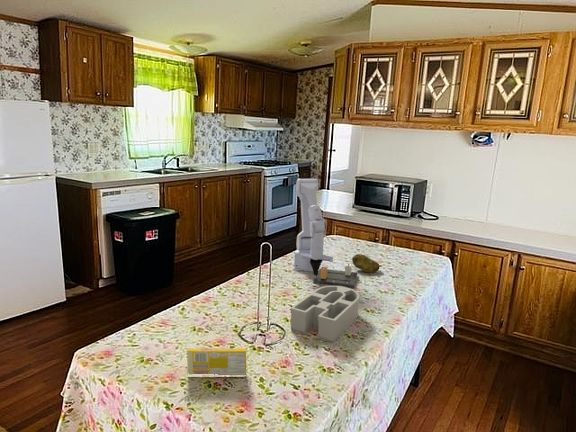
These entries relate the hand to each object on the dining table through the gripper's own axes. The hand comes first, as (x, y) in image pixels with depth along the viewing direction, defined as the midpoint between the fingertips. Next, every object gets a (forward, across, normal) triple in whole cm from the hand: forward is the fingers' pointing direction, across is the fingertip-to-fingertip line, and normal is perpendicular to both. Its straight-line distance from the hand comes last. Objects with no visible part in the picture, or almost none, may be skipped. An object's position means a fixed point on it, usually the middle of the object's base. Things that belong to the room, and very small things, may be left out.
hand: (315, 275), depth 188 cm
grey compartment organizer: (+3, +12, -38) cm, 40 cm away
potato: (+3, +21, +20) cm, 29 cm away
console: (+2, +9, +4) cm, 10 cm away
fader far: (+1, +14, +8) cm, 16 cm away
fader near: (+1, +4, 0) cm, 4 cm away
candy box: (+3, -12, -80) cm, 81 cm away
